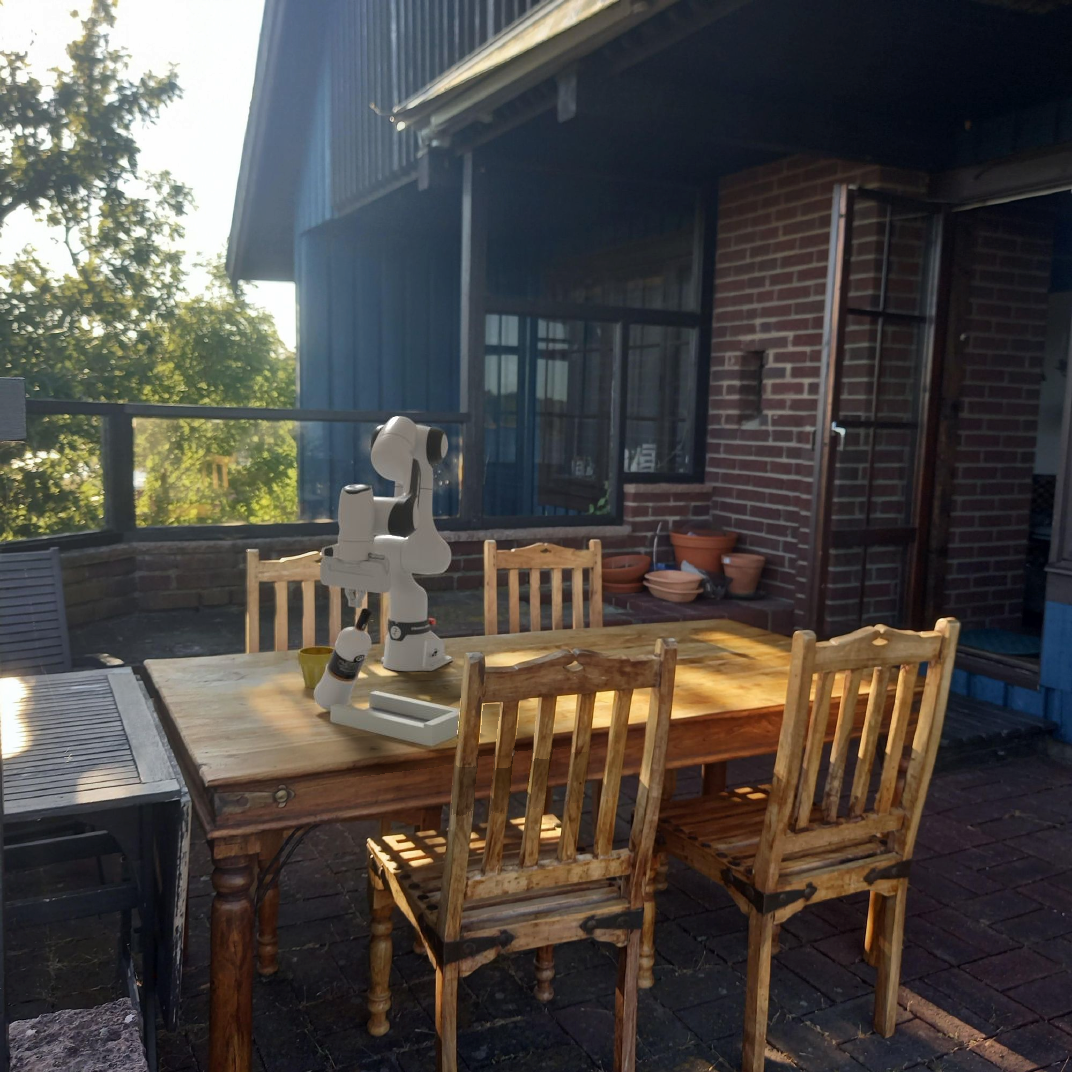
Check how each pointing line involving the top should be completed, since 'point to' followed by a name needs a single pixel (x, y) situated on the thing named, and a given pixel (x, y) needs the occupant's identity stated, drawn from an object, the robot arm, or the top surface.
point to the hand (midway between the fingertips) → (355, 606)
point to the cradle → (401, 718)
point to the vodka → (344, 664)
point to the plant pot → (314, 663)
